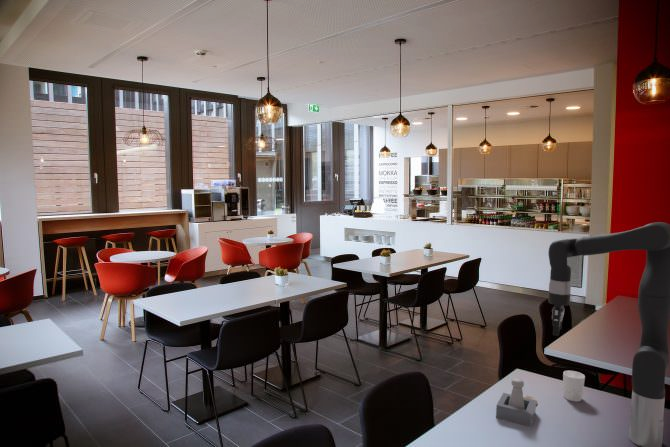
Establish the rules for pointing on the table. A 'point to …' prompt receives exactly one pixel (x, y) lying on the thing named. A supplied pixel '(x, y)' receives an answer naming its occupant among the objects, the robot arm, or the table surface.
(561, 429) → the table surface
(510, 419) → the well
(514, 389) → the salt shaker
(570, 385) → the white cup
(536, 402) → the cork coaster
